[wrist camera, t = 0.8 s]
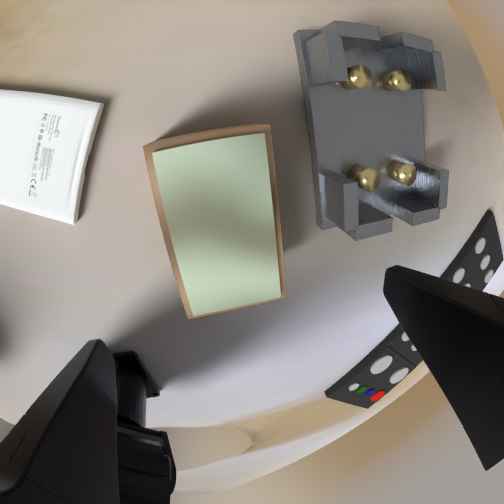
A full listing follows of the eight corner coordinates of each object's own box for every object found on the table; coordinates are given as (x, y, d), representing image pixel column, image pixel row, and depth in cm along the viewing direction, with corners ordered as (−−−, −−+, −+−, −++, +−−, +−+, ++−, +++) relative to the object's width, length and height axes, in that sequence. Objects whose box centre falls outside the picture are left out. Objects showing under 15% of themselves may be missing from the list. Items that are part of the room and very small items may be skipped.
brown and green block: (266, 260, 21) (287, 301, 17) (187, 276, 21) (188, 322, 16) (249, 123, 17) (271, 123, 12) (156, 140, 16) (142, 146, 11)
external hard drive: (-17, 88, 10) (107, 104, 14) (-33, 187, 13) (80, 219, 17) (-29, 88, 9) (100, 102, 13) (-44, 192, 12) (72, 227, 16)
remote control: (322, 388, 32) (328, 400, 30) (484, 207, 25) (495, 213, 23) (363, 401, 36) (369, 411, 35) (497, 255, 30) (505, 261, 28)
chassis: (415, 203, 22) (446, 219, 18) (316, 224, 21) (342, 247, 17) (405, 46, 15) (439, 40, 12) (293, 34, 14) (317, 16, 11)
